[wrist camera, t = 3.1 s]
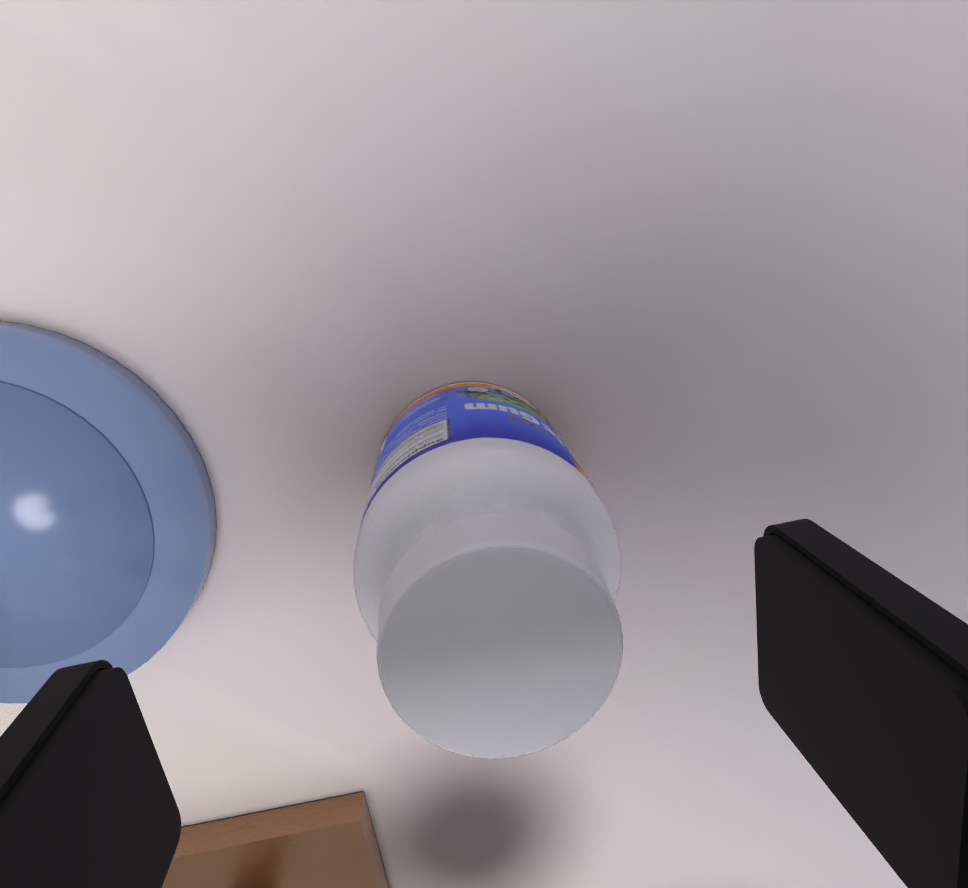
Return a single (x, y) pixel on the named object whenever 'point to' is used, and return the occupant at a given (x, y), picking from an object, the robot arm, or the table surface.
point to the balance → (283, 849)
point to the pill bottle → (487, 576)
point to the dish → (91, 512)
